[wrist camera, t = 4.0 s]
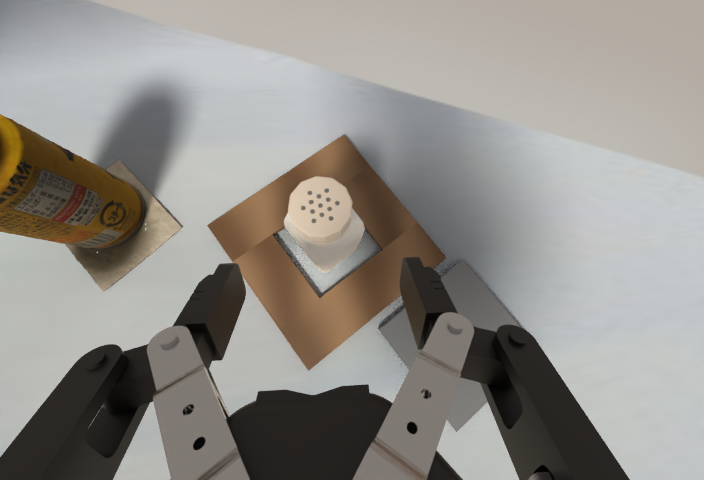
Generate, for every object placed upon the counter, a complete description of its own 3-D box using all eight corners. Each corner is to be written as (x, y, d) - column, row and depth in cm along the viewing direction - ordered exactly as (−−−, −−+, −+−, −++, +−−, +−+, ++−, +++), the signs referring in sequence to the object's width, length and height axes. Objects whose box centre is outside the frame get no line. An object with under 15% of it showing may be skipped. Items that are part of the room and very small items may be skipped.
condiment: (120, 160, 23) (-108, 20, 11) (183, 227, 22) (5, 151, 10) (44, 217, 22) (-304, 126, 10) (107, 291, 21) (-195, 287, 9)
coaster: (453, 427, 20) (456, 431, 19) (378, 328, 21) (379, 329, 20) (534, 349, 21) (540, 350, 21) (460, 260, 23) (463, 259, 22)
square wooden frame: (309, 368, 20) (308, 370, 20) (210, 226, 22) (207, 225, 22) (443, 258, 22) (446, 257, 22) (343, 137, 24) (343, 134, 24)
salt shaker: (294, 239, 22) (262, 199, 13) (331, 210, 23) (327, 153, 14) (324, 276, 22) (312, 262, 12) (361, 246, 22) (377, 211, 13)
